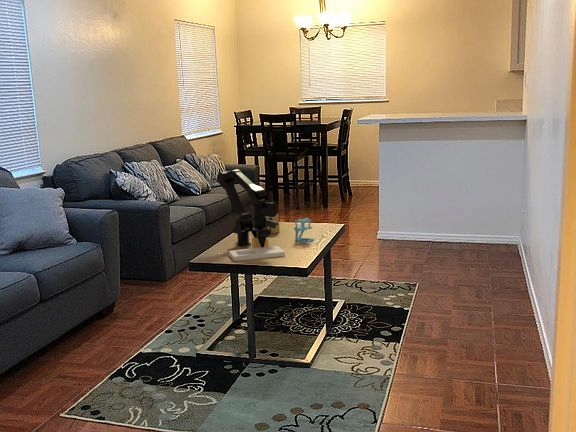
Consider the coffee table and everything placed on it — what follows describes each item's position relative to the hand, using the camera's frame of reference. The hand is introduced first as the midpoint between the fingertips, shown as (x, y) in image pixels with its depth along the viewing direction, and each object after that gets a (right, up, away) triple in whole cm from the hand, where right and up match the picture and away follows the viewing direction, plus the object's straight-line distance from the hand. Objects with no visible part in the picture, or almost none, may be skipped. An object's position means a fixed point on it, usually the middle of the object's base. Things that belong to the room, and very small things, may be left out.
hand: (260, 246), depth 310 cm
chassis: (-1, -4, -13) cm, 14 cm away
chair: (+21, +2, +13) cm, 25 cm away
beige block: (0, -1, 0) cm, 1 cm away
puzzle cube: (+3, +6, +36) cm, 36 cm away
